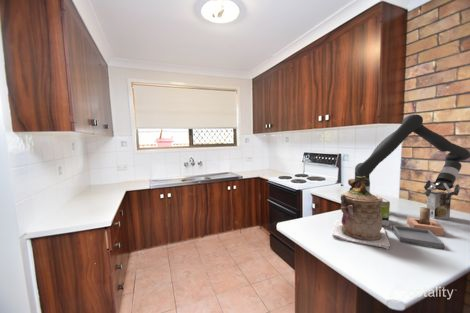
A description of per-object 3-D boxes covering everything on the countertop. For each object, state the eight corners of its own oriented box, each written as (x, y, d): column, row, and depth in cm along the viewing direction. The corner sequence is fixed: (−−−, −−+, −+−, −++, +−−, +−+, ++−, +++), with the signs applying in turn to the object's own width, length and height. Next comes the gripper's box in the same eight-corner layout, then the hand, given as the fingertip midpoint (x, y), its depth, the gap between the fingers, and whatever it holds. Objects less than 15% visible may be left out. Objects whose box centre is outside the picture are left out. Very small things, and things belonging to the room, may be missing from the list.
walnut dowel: (420, 230, 113) (421, 209, 112) (417, 227, 117) (419, 206, 116) (430, 231, 112) (431, 210, 111) (427, 228, 115) (428, 207, 114)
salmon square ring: (413, 231, 112) (414, 224, 111) (406, 223, 122) (407, 217, 122) (443, 235, 106) (444, 228, 106) (433, 227, 117) (433, 220, 117)
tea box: (389, 226, 119) (390, 201, 117) (370, 225, 121) (371, 200, 119) (377, 217, 133) (378, 194, 132) (360, 216, 135) (360, 194, 134)
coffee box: (440, 215, 135) (442, 191, 134) (450, 219, 128) (451, 193, 127) (425, 215, 136) (427, 191, 135) (434, 218, 129) (435, 193, 128)
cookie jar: (384, 230, 114) (387, 173, 111) (391, 251, 92) (394, 181, 90) (335, 222, 126) (336, 170, 124) (331, 238, 105) (332, 176, 102)
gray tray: (400, 242, 101) (400, 237, 100) (391, 229, 115) (392, 224, 115) (443, 249, 94) (444, 243, 93) (429, 234, 108) (429, 230, 108)
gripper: (430, 170, 127) (419, 190, 123) (462, 173, 114) (451, 196, 110) (434, 178, 129) (423, 198, 126) (466, 182, 117) (455, 204, 113)
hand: (436, 197), depth 118 cm, fingers open, 8 cm apart
